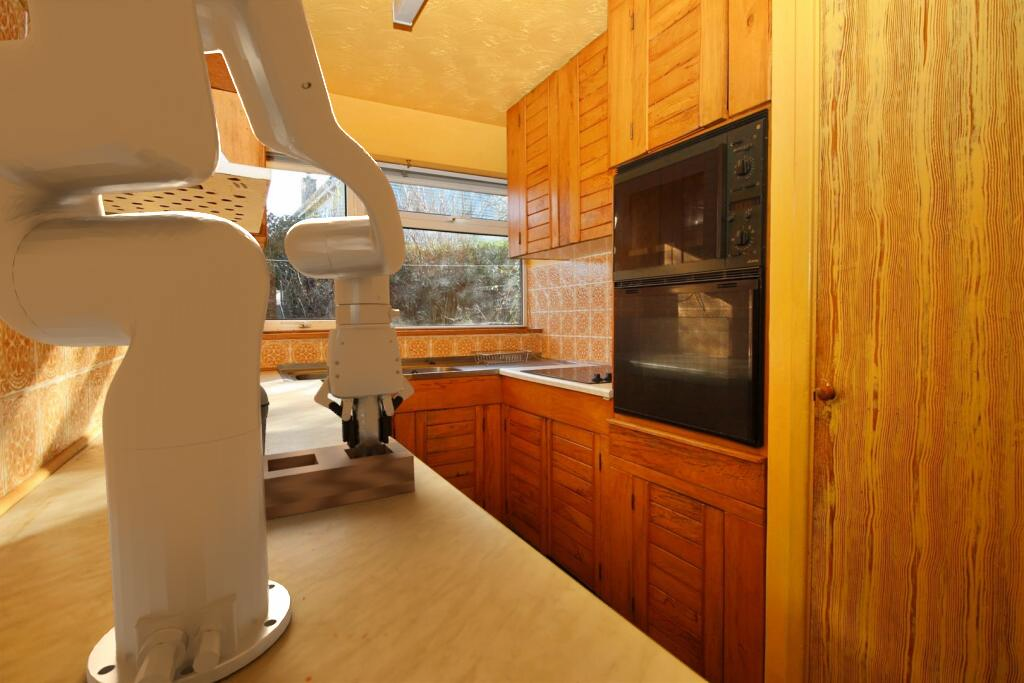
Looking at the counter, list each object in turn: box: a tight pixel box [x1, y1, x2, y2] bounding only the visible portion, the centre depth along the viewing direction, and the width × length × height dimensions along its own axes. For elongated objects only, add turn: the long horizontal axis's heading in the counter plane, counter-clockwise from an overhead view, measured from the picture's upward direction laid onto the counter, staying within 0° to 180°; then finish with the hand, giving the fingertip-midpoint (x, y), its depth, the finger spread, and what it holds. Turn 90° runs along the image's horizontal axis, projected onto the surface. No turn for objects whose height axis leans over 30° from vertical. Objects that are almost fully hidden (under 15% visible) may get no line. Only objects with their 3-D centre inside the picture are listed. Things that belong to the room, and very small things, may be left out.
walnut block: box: [263, 437, 416, 521], centre depth 66 cm, size 20×12×5 cm, turn 118°
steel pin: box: [351, 395, 382, 459], centre depth 68 cm, size 4×4×12 cm
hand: (367, 442), depth 68 cm, fingers closed on steel pin, 4 cm apart
